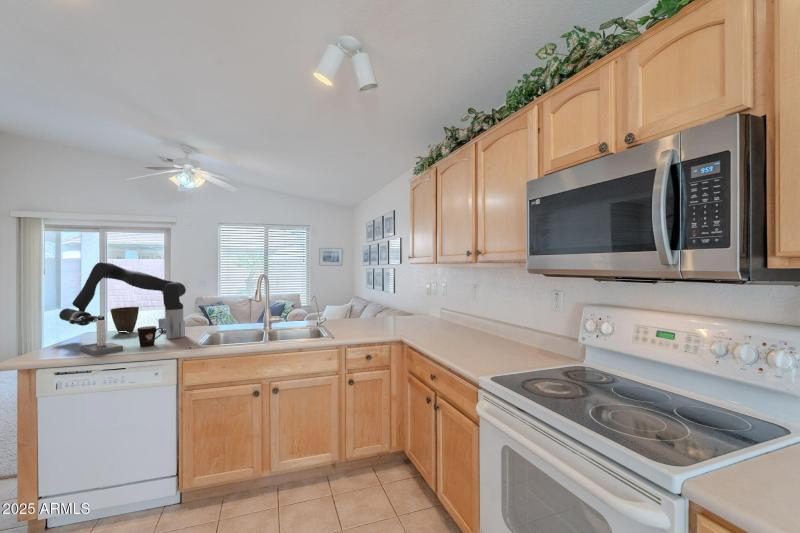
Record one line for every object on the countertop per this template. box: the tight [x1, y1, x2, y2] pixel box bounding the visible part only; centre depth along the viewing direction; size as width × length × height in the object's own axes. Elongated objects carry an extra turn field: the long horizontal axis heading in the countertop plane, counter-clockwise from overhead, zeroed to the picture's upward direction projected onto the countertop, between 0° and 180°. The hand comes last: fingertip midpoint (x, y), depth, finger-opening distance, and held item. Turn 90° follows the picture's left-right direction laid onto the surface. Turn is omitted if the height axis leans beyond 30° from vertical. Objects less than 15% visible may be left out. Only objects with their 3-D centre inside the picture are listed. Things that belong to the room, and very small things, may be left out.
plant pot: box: [110, 306, 140, 335], centre depth 239 cm, size 15×15×16 cm
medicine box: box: [158, 317, 166, 333], centre depth 244 cm, size 8×4×9 cm, turn 168°
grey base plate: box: [79, 340, 124, 357], centre depth 192 cm, size 20×12×3 cm, turn 56°
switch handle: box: [95, 319, 107, 346], centre depth 192 cm, size 2×3×13 cm
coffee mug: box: [136, 325, 164, 348], centre depth 203 cm, size 12×9×10 cm
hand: (91, 321), depth 198 cm, fingers open, 8 cm apart
